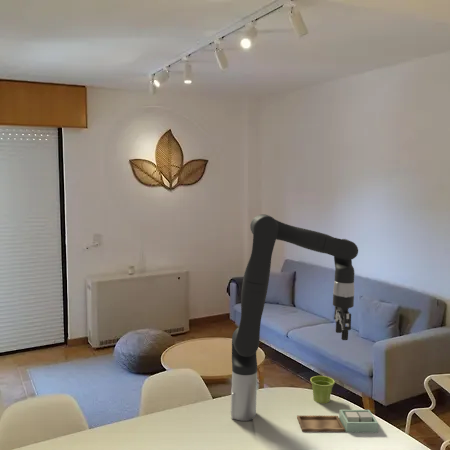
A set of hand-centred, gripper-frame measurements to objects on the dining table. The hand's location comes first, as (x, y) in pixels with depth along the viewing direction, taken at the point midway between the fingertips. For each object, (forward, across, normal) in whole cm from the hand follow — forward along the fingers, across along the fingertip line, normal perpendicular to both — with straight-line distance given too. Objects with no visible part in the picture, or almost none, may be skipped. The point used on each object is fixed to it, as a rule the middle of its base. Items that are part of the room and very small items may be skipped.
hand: (341, 336), depth 191 cm
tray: (+30, +10, -9) cm, 33 cm away
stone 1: (+29, +10, +2) cm, 31 cm away
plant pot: (+30, -10, -4) cm, 32 cm away
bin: (+30, +10, +5) cm, 32 cm away
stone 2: (+29, +10, +7) cm, 32 cm away
